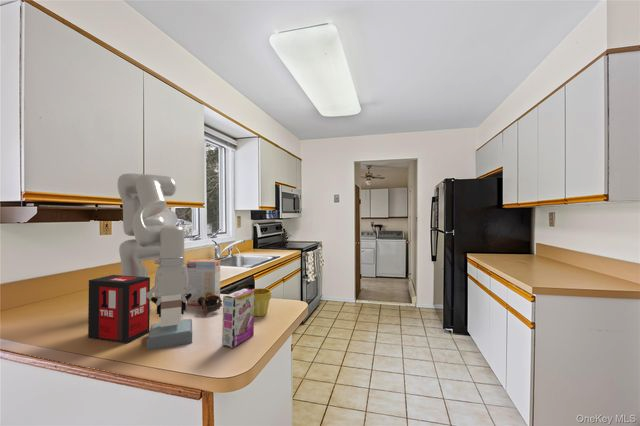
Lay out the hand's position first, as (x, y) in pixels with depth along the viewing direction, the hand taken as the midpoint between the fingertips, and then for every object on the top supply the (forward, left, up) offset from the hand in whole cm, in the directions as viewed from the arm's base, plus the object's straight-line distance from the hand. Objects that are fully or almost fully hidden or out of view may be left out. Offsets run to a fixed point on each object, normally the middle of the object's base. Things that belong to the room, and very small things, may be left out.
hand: (171, 314), depth 98 cm
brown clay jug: (+14, +24, -9) cm, 29 cm away
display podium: (0, 0, -8) cm, 8 cm away
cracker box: (+12, +36, -9) cm, 39 cm away
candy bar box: (+21, -11, -9) cm, 25 cm away
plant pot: (+33, +12, -9) cm, 36 cm away
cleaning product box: (-17, +10, -9) cm, 21 cm away
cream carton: (0, 0, -3) cm, 3 cm away
